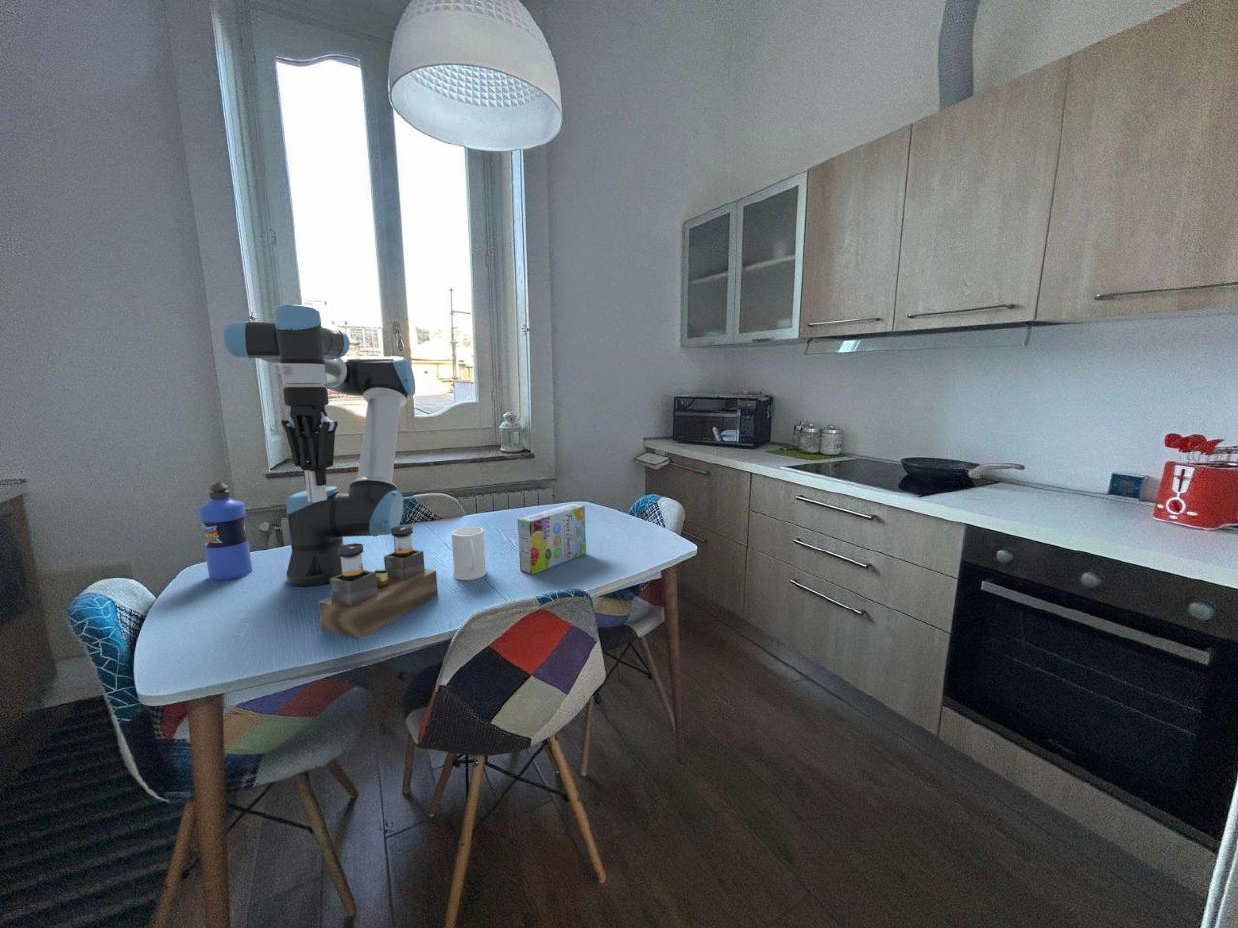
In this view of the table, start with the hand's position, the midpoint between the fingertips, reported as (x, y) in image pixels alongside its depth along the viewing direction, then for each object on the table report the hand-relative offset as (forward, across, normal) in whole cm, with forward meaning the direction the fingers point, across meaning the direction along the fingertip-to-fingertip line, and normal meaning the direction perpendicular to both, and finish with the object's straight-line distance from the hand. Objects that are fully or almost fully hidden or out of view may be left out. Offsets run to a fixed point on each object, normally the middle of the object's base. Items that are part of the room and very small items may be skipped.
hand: (317, 500), depth 101 cm
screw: (+20, +8, +7) cm, 23 cm away
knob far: (+17, +8, +14) cm, 23 cm away
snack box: (+27, +30, +47) cm, 62 cm away
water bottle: (+27, -47, +9) cm, 55 cm away
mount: (+26, +8, +7) cm, 28 cm away
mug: (+27, +14, +30) cm, 42 cm away
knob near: (+17, +8, 0) cm, 19 cm away
